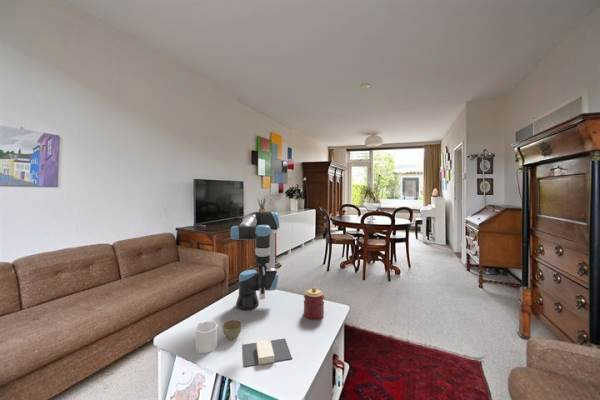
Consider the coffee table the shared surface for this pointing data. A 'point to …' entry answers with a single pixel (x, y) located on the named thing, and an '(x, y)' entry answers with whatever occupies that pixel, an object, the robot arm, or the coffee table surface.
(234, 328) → the flower pot
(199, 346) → the mug
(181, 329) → the coffee table surface
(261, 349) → the slab
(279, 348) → the mat
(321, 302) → the canister
